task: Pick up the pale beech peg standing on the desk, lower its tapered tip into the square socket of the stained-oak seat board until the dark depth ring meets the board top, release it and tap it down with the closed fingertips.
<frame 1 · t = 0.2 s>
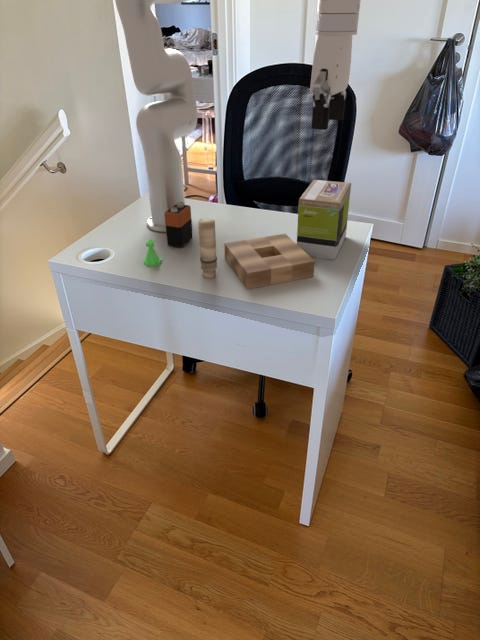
hand: (327, 124, 95), 31 cm above the table, tool pointing down, fingers open, 9 cm apart
board: (267, 267, 109), on the table
game piece: (152, 263, 112), on the table
tea box: (321, 246, 119), on the table
battery: (180, 242, 121), on the table
peg: (209, 275, 106), on the table
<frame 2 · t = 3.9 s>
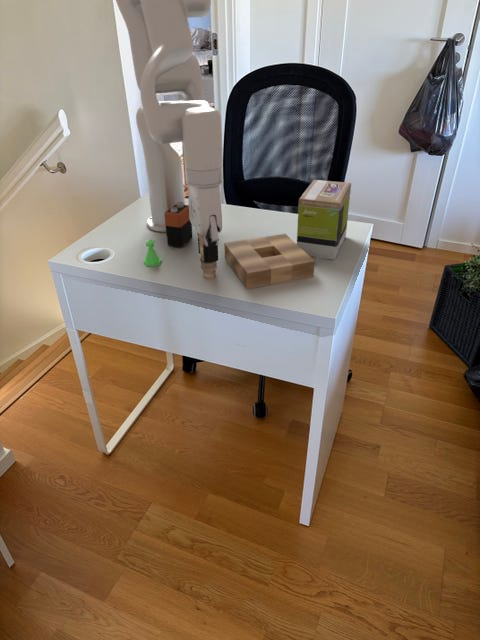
hand: (208, 256, 103), 5 cm above the table, tool pointing down, fingers closed on peg, 3 cm apart
peg: (209, 275, 106), on the table, touching gripper
everything else where it was.
when the fingers open (5 cm above the table, at t = 8.7 s): peg stays where it is, resting in board.
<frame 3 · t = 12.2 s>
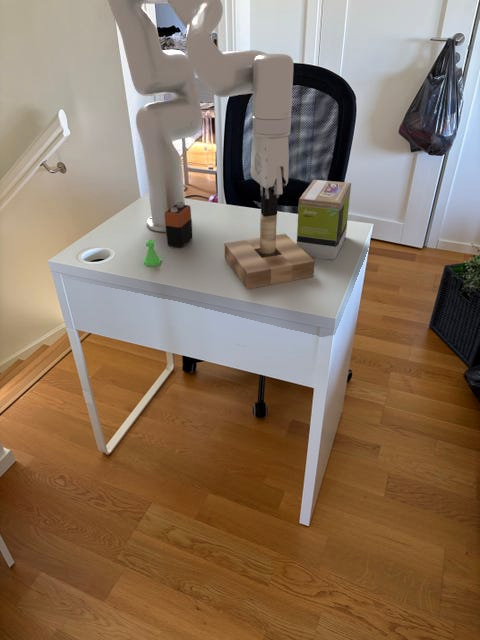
hand: (269, 214, 102), 13 cm above the table, tool pointing down, fingers closed
peg: (267, 267, 109), resting in board, touching gripper
everything else where it was.
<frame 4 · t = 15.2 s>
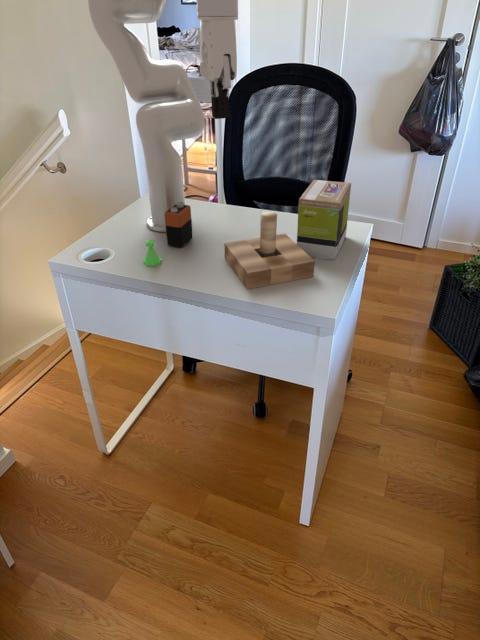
hand: (220, 117, 95), 32 cm above the table, tool pointing down, fingers closed
peg: (267, 267, 109), resting in board
everything else where it was.
at the end: peg 0.1 cm from the board (horizontally); peg resting in board; peg tilted 0° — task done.
